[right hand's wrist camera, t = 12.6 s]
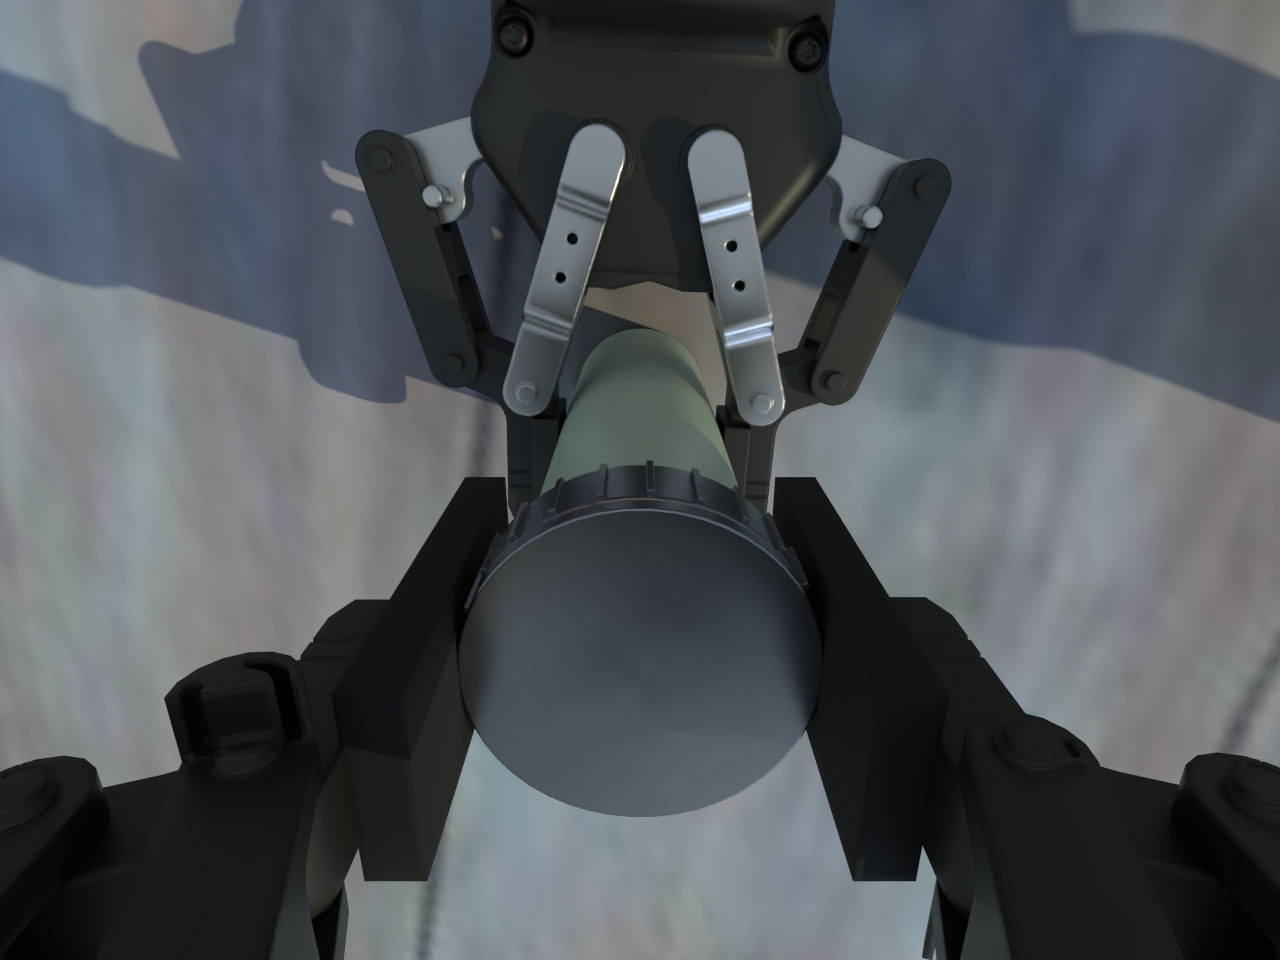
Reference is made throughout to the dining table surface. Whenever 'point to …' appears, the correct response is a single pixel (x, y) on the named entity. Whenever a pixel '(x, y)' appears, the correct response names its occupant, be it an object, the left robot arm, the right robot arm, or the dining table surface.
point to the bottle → (640, 412)
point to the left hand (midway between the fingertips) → (637, 534)
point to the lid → (640, 643)
